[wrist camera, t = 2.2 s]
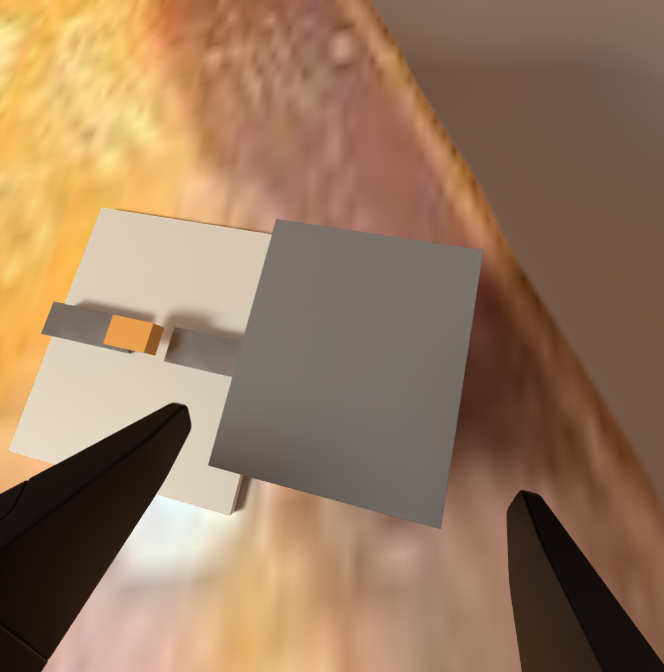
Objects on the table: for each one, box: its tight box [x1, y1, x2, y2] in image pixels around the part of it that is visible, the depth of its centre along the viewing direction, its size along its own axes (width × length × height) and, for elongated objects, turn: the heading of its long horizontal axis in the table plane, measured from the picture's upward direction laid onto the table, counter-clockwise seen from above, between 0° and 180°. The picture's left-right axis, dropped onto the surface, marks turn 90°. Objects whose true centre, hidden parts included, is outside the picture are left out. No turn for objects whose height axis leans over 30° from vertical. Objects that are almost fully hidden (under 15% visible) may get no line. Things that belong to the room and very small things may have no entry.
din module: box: [208, 219, 483, 529], centre depth 14 cm, size 6×5×12 cm
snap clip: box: [103, 315, 164, 356], centre depth 19 cm, size 2×2×1 cm
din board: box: [9, 208, 272, 516], centre depth 21 cm, size 16×14×1 cm
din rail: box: [41, 302, 242, 377], centre depth 20 cm, size 2×13×1 cm, turn 78°
